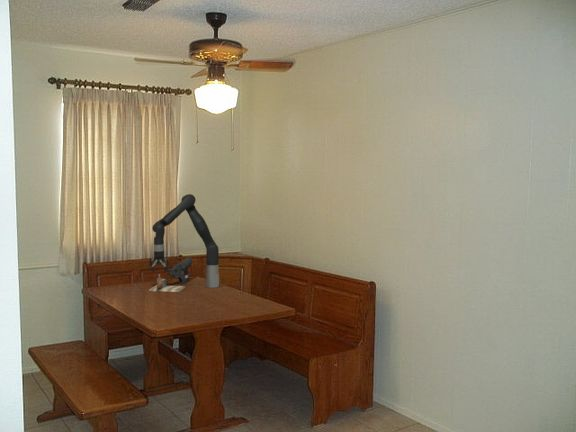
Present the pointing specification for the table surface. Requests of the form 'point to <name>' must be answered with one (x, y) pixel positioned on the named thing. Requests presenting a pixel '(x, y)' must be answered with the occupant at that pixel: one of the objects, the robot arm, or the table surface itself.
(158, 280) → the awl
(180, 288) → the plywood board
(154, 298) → the table surface
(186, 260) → the gun
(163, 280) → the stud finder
